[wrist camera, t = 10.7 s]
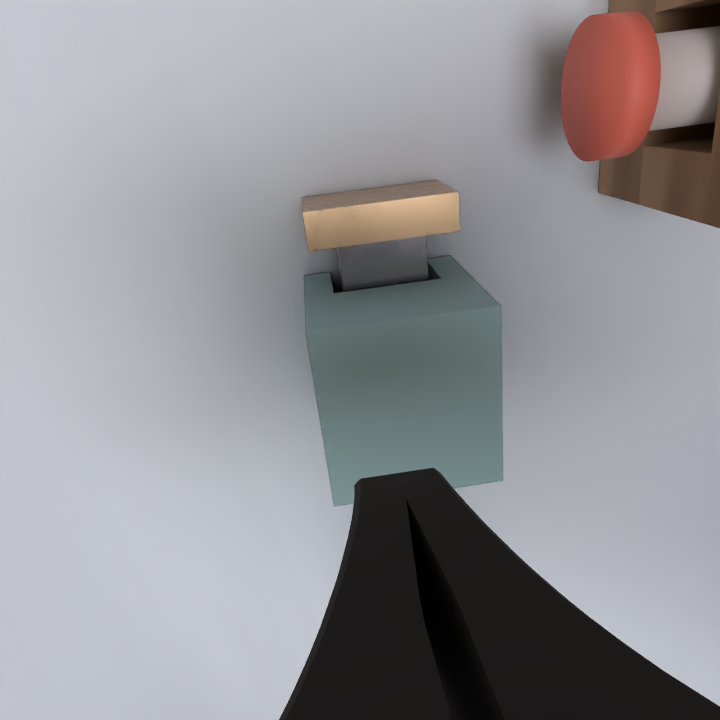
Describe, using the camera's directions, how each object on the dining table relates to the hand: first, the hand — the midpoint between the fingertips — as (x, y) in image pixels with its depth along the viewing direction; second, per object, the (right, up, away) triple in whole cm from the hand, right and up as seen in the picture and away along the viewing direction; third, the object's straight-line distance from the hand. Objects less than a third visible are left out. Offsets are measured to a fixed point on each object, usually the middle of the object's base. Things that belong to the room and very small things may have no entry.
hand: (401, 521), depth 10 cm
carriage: (0, +3, +9) cm, 10 cm away
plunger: (+7, +10, +5) cm, 13 cm away
